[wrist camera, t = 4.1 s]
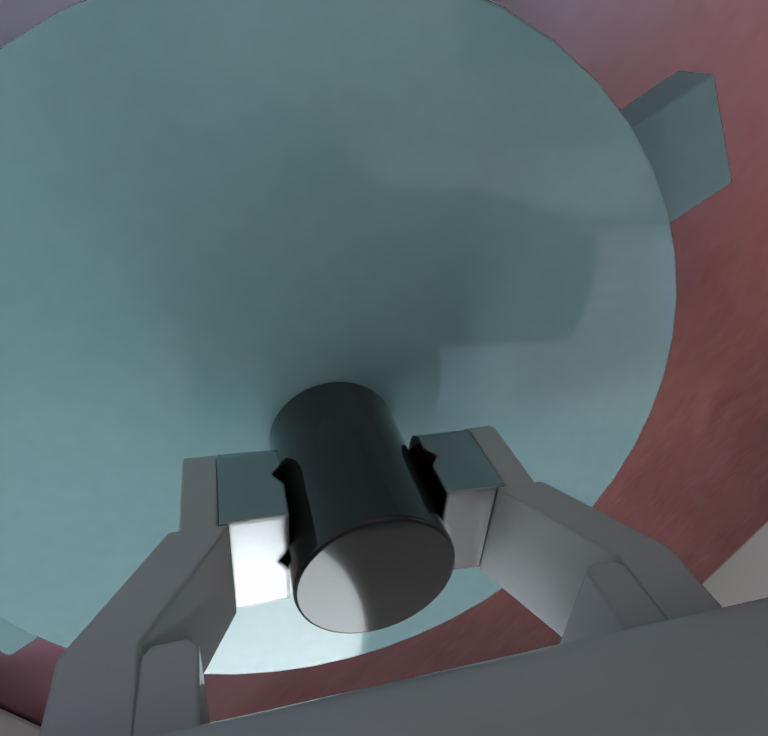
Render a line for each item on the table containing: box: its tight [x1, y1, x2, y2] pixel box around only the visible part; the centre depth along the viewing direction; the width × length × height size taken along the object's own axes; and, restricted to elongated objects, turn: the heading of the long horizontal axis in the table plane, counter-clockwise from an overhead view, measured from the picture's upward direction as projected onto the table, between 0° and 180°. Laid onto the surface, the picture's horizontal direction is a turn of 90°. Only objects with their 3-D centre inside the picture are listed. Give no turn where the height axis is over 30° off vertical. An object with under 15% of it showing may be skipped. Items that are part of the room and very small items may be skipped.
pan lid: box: [0, 0, 677, 675], centre depth 10 cm, size 15×15×5 cm
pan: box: [0, 71, 732, 655], centre depth 14 cm, size 14×19×8 cm
